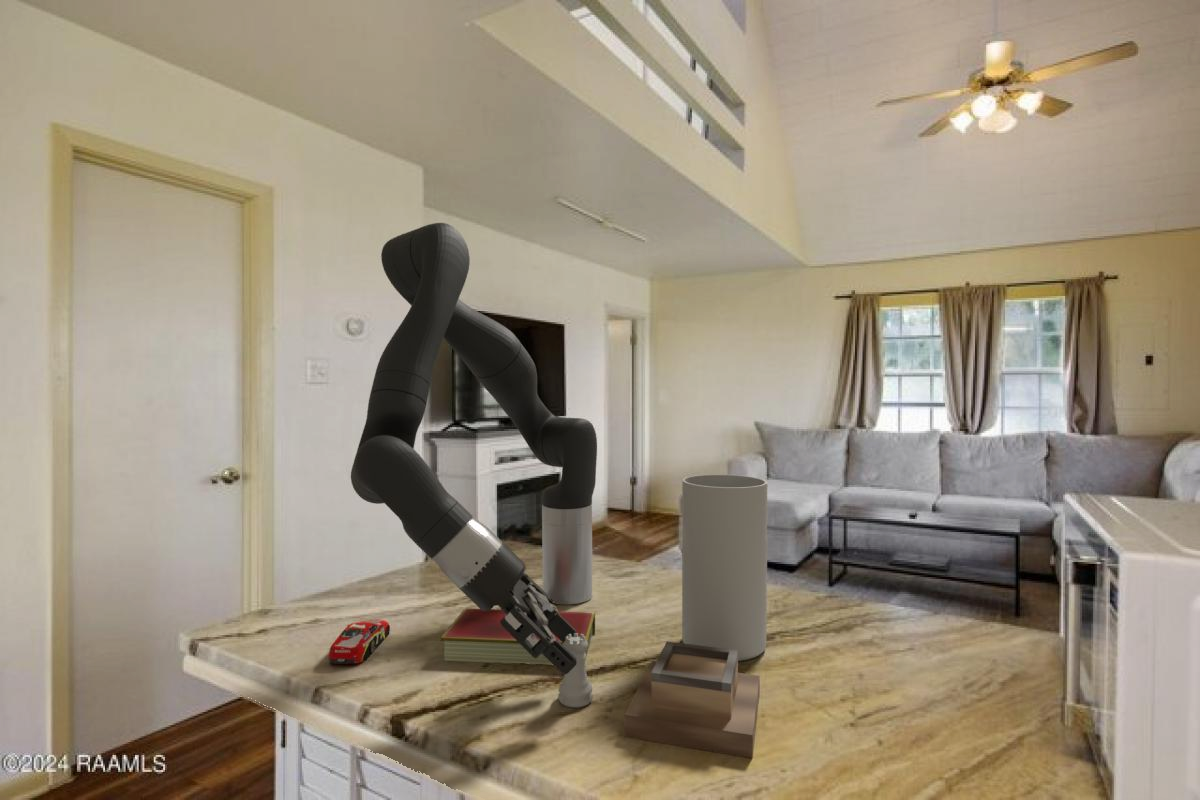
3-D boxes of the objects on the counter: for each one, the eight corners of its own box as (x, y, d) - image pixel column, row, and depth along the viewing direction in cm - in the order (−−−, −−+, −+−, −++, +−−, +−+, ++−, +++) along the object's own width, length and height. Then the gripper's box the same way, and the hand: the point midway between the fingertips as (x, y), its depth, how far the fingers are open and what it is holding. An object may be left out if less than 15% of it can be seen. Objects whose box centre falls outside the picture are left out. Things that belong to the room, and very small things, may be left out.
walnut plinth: (651, 679, 84) (651, 631, 84) (759, 694, 80) (759, 644, 79) (624, 736, 70) (624, 679, 70) (752, 758, 66) (752, 697, 66)
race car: (362, 632, 101) (361, 607, 101) (395, 632, 101) (394, 608, 100) (321, 669, 88) (320, 640, 88) (359, 670, 87) (358, 641, 87)
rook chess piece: (589, 711, 76) (589, 645, 76) (553, 707, 77) (553, 642, 77) (596, 693, 80) (596, 631, 80) (563, 689, 81) (562, 628, 81)
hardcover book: (466, 631, 101) (465, 605, 101) (595, 636, 99) (595, 609, 99) (440, 665, 89) (440, 635, 89) (586, 671, 87) (586, 641, 87)
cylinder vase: (772, 636, 98) (773, 477, 97) (757, 670, 86) (758, 490, 86) (695, 623, 103) (695, 472, 102) (671, 653, 92) (671, 484, 91)
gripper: (493, 557, 70) (595, 656, 71) (506, 528, 85) (591, 610, 85) (446, 604, 70) (548, 703, 71) (467, 567, 85) (552, 649, 85)
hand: (571, 652), depth 78 cm, fingers open, 8 cm apart
